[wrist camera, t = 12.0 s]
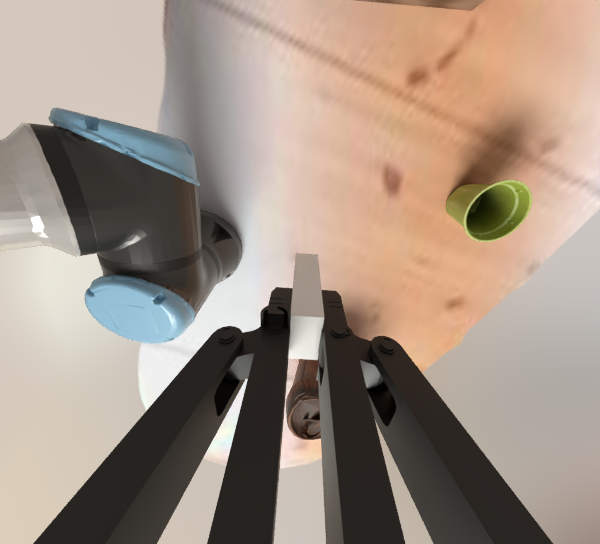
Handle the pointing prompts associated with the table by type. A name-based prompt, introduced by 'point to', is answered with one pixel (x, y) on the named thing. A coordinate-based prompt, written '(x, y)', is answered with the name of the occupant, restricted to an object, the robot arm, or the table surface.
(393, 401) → the robot arm
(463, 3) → the key block
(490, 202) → the plant pot
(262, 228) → the table surface
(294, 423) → the brown tapered cylinder
